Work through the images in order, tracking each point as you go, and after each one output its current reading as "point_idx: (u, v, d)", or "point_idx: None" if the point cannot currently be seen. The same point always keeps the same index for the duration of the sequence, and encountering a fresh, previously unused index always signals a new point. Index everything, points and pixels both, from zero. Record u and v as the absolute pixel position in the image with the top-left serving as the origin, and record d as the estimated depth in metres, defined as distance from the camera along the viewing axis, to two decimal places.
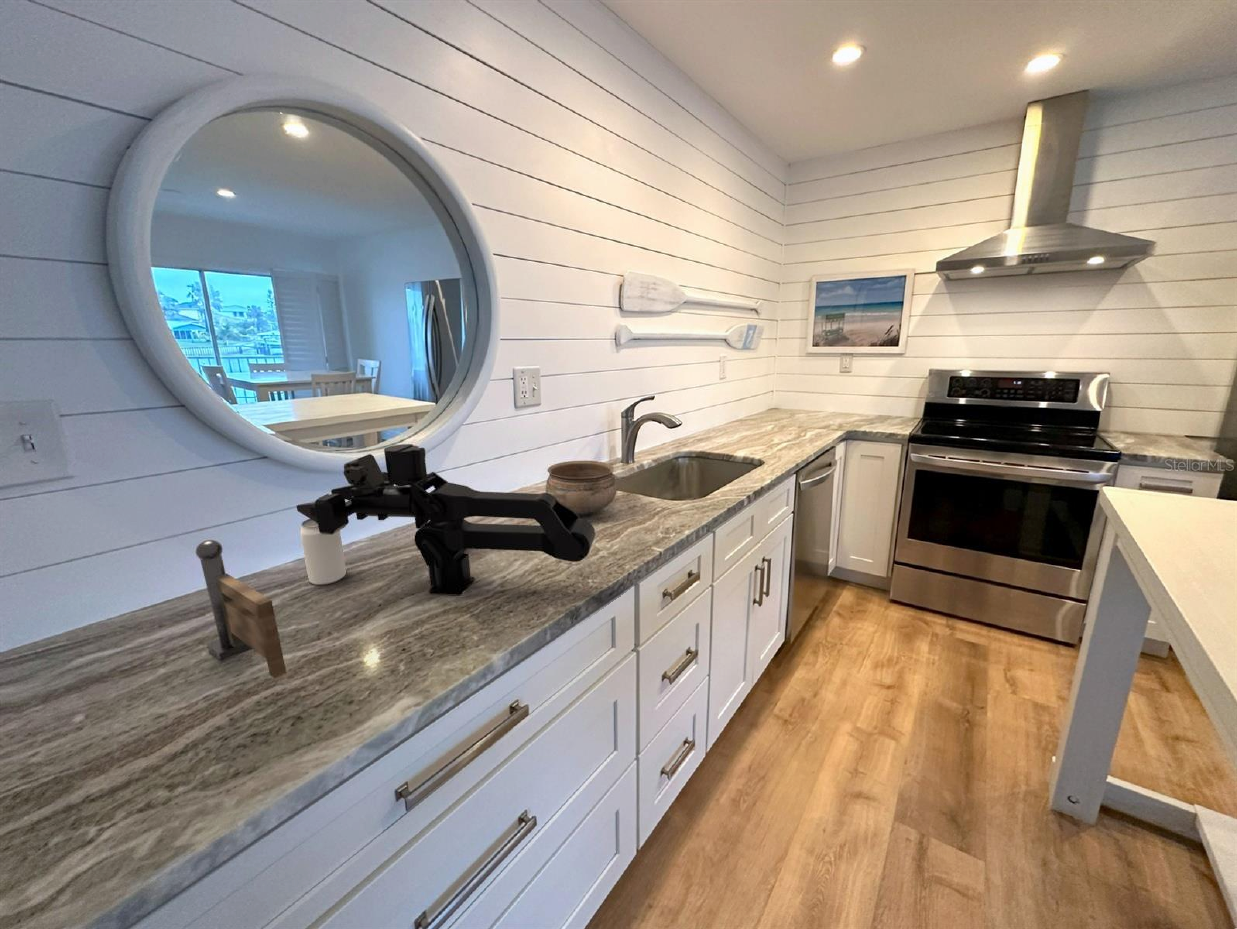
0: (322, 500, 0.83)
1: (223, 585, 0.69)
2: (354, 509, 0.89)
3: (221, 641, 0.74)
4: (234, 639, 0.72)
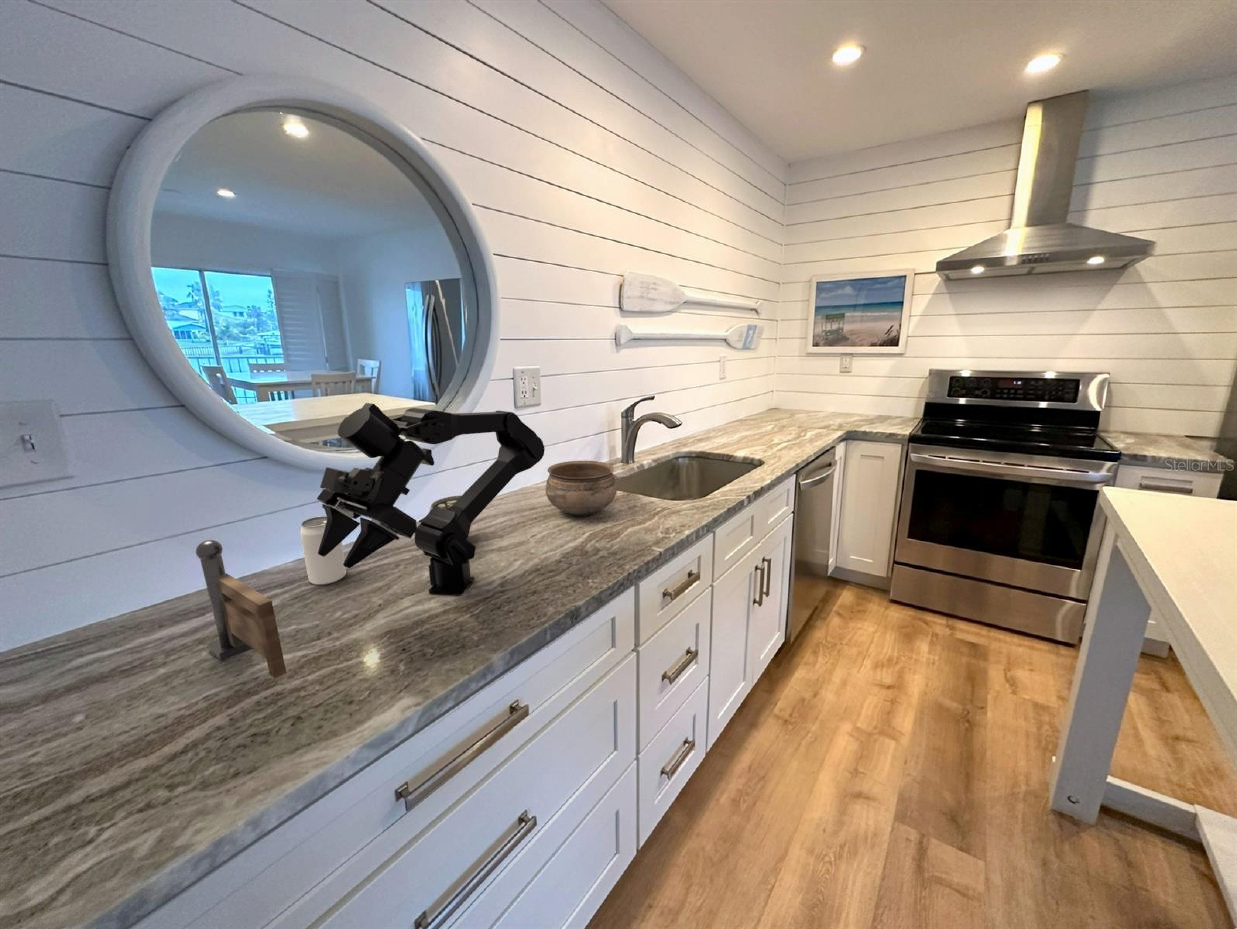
0: (384, 513, 0.71)
1: (223, 585, 0.69)
2: None
3: (221, 641, 0.74)
4: (234, 639, 0.72)
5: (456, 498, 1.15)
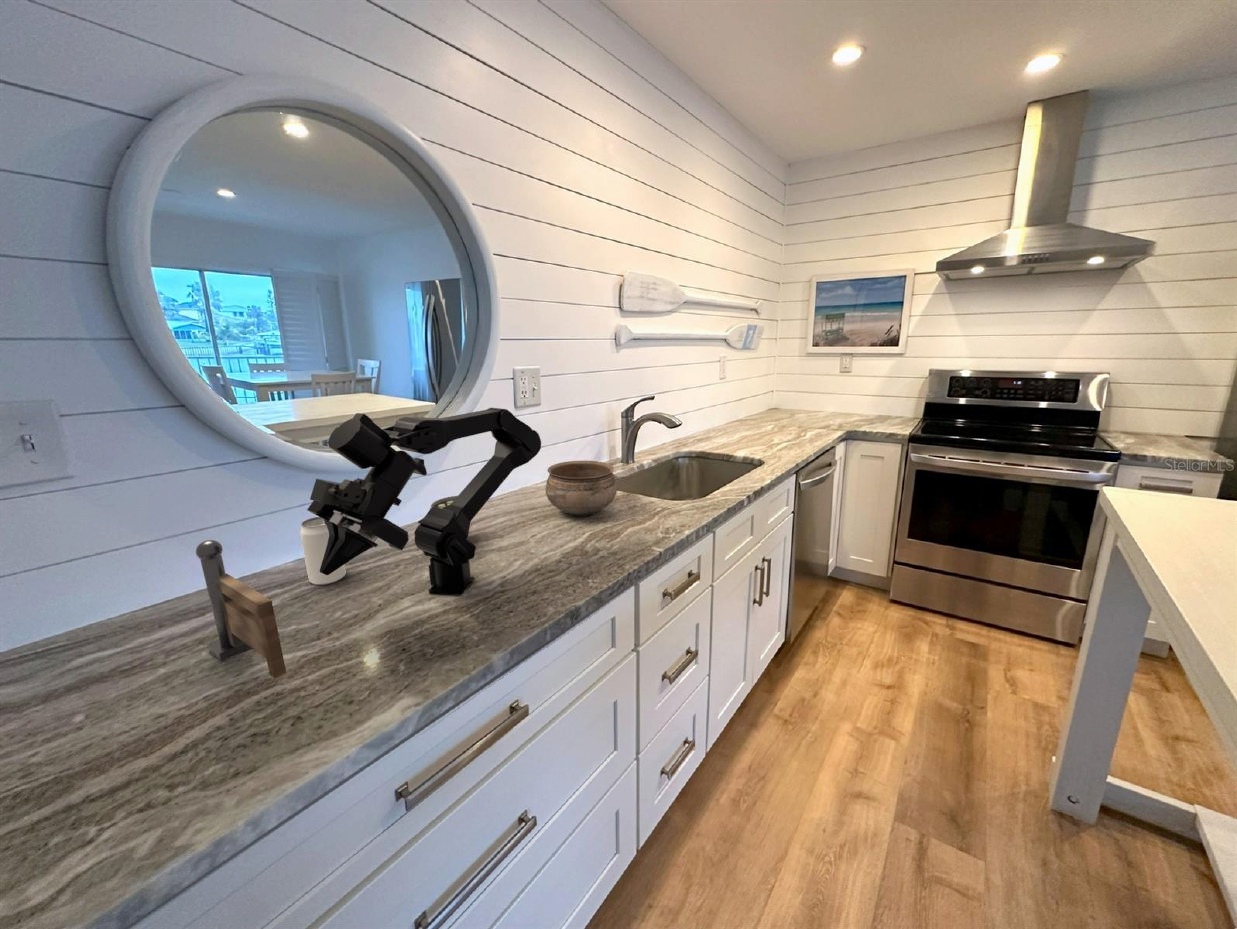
0: (375, 526, 0.70)
1: (223, 585, 0.69)
2: None
3: (221, 641, 0.74)
4: (234, 639, 0.72)
5: None
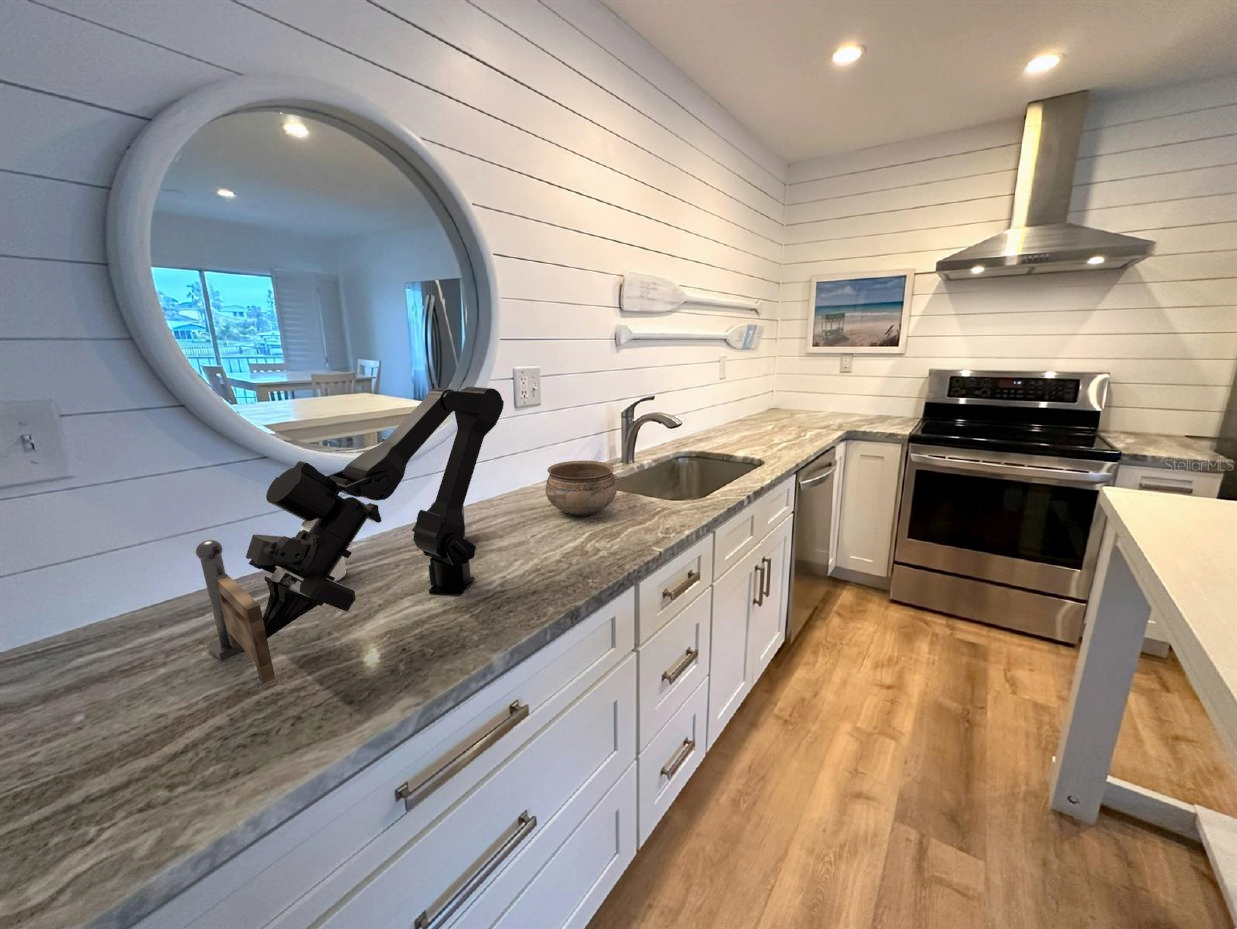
0: (315, 588, 0.64)
1: (220, 586, 0.69)
2: None
3: (221, 641, 0.74)
4: (232, 640, 0.72)
5: None
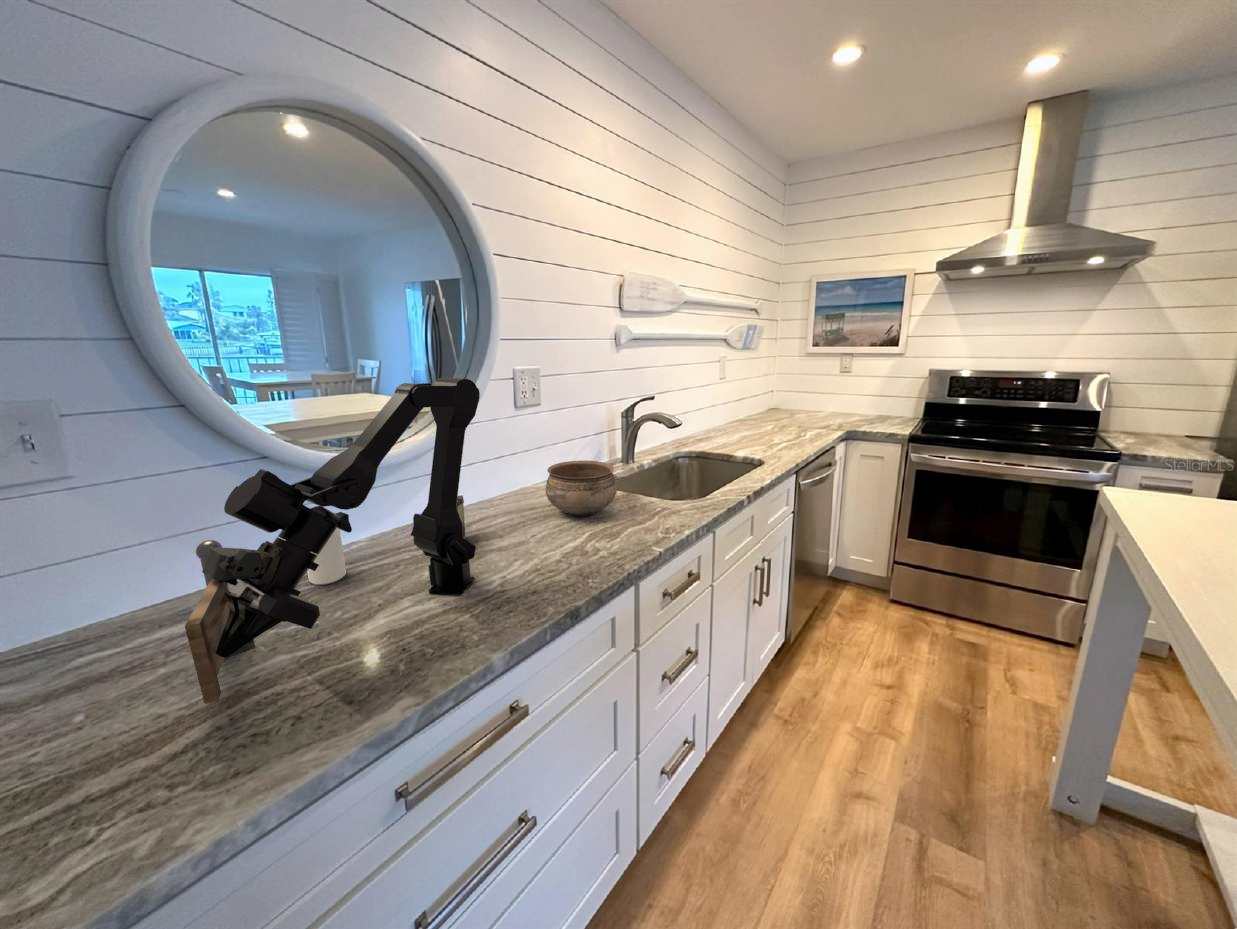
0: (274, 605, 0.60)
1: None
2: None
3: None
4: None
5: None
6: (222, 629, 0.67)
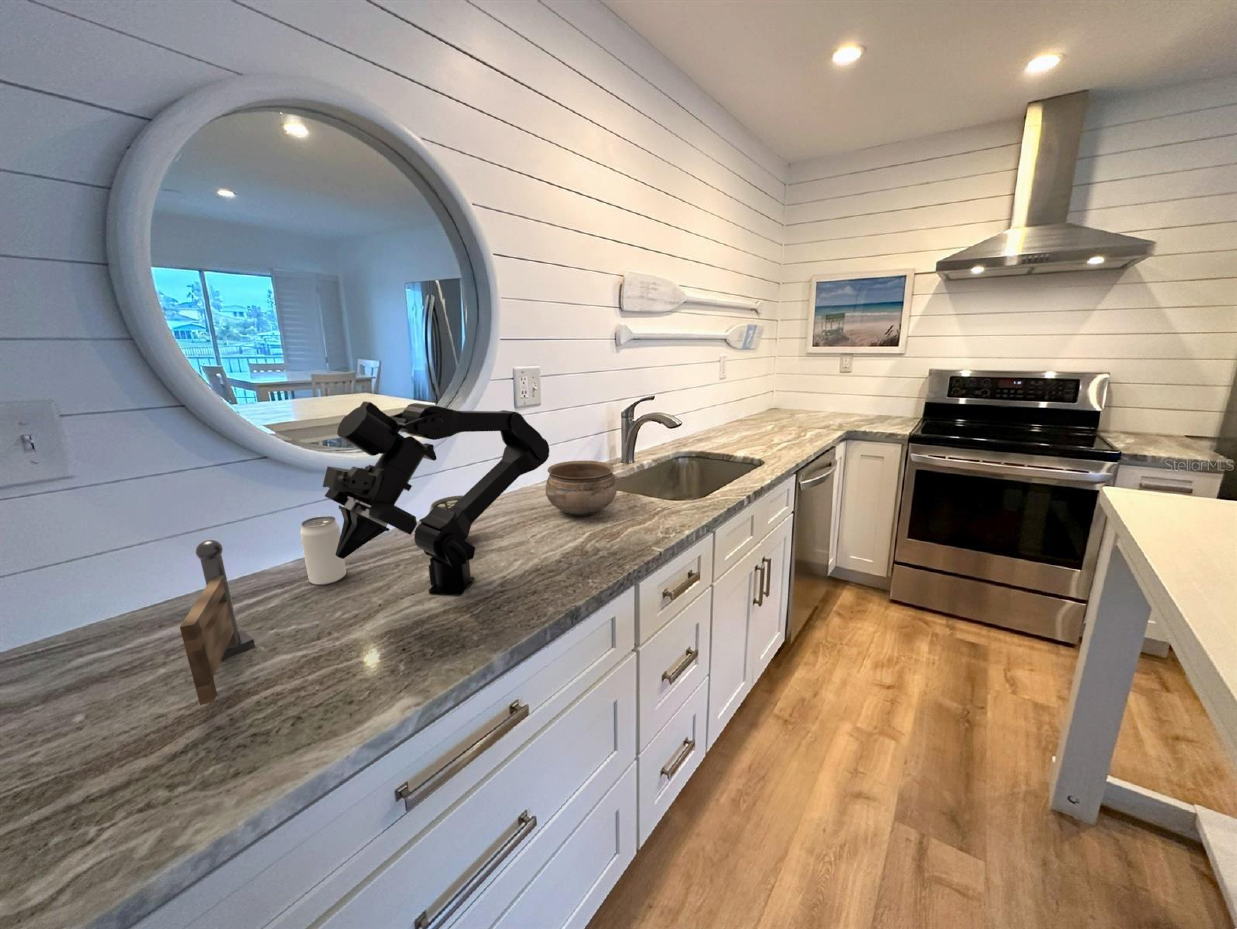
0: (382, 511, 0.71)
1: None
2: None
3: None
4: None
5: (456, 498, 1.15)
6: (220, 630, 0.67)
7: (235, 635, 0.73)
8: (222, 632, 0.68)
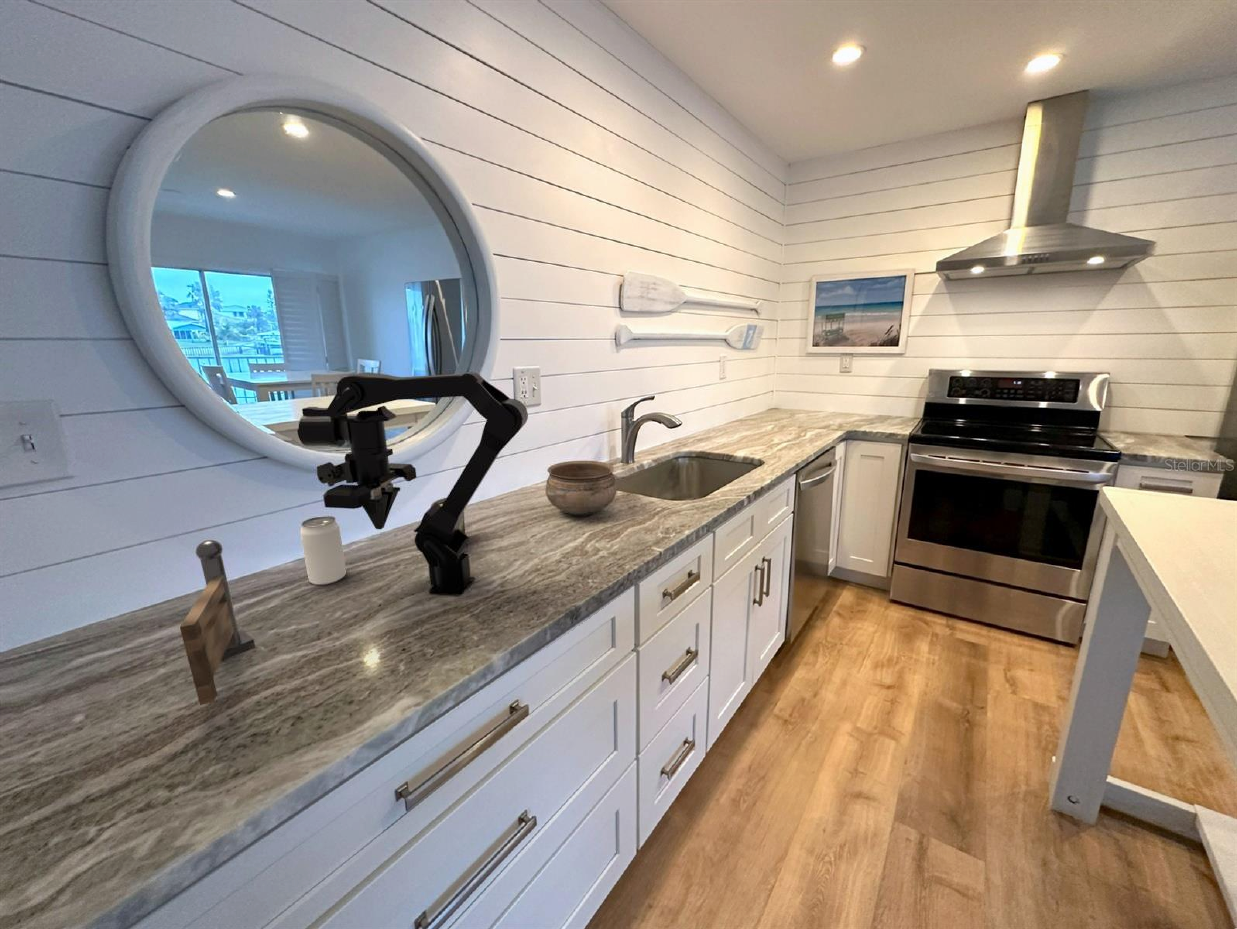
0: (324, 499, 0.81)
1: None
2: (367, 483, 0.86)
3: None
4: None
5: None
6: (220, 630, 0.67)
7: (235, 635, 0.73)
8: (222, 632, 0.68)
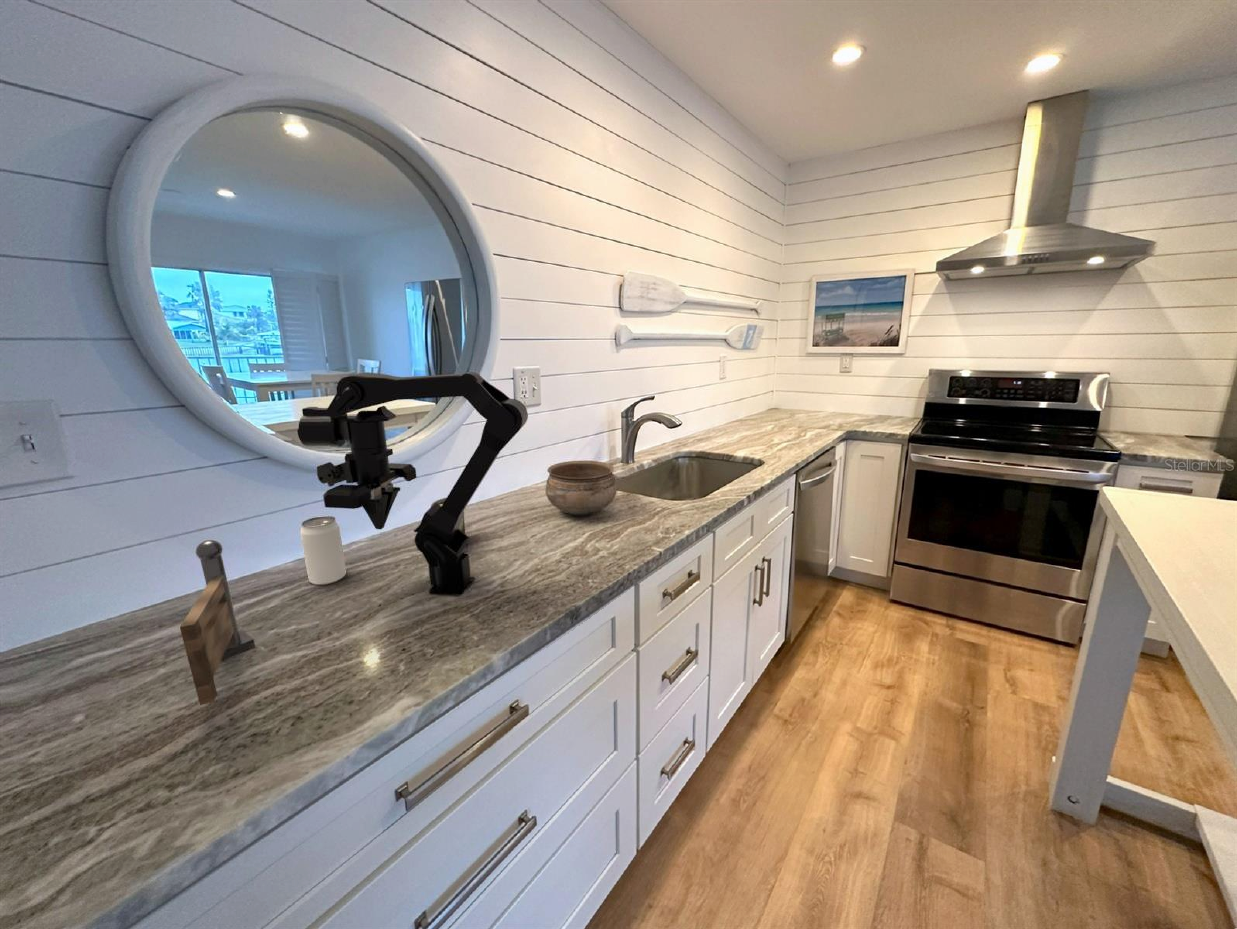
0: (324, 499, 0.81)
1: None
2: (367, 483, 0.86)
3: None
4: None
5: None
6: (220, 630, 0.67)
7: (235, 635, 0.73)
8: (222, 632, 0.68)
